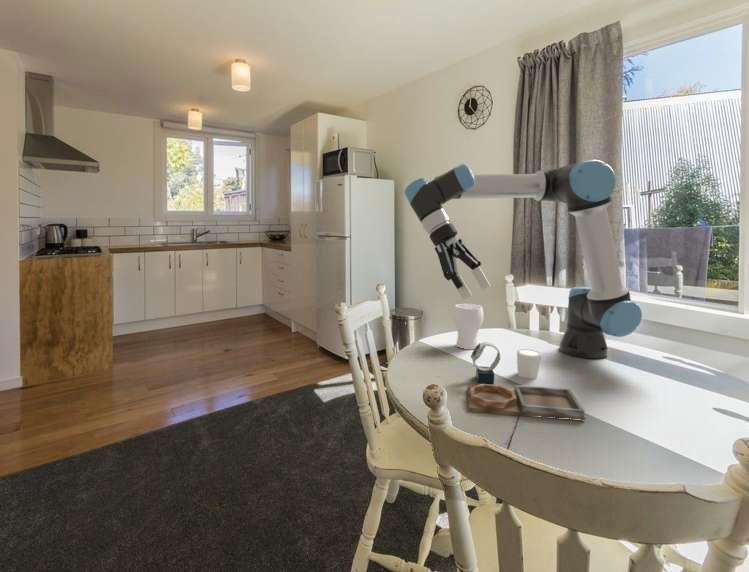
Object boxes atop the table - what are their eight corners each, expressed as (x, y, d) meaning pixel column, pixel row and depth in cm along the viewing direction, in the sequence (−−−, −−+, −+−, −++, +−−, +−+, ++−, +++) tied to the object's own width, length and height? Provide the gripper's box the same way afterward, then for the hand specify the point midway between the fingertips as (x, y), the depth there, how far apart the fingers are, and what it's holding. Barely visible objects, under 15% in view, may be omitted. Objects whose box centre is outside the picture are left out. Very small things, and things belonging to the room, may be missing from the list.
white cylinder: (537, 381, 119) (538, 357, 118) (512, 376, 122) (514, 353, 121) (541, 373, 125) (543, 351, 124) (518, 369, 128) (519, 347, 127)
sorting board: (569, 398, 108) (570, 388, 107) (584, 421, 95) (585, 411, 95) (467, 389, 112) (467, 381, 112) (469, 411, 100) (469, 401, 99)
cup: (485, 351, 146) (487, 309, 143) (454, 350, 146) (456, 309, 143) (478, 342, 156) (480, 303, 154) (450, 342, 156) (451, 303, 154)
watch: (469, 375, 122) (470, 340, 121) (497, 377, 121) (499, 341, 120) (470, 383, 117) (472, 345, 115) (500, 384, 116) (502, 347, 114)
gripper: (448, 231, 131) (483, 289, 128) (408, 240, 112) (448, 308, 109) (467, 218, 127) (503, 278, 124) (428, 224, 107) (470, 295, 104)
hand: (477, 292), depth 116 cm, fingers open, 13 cm apart
